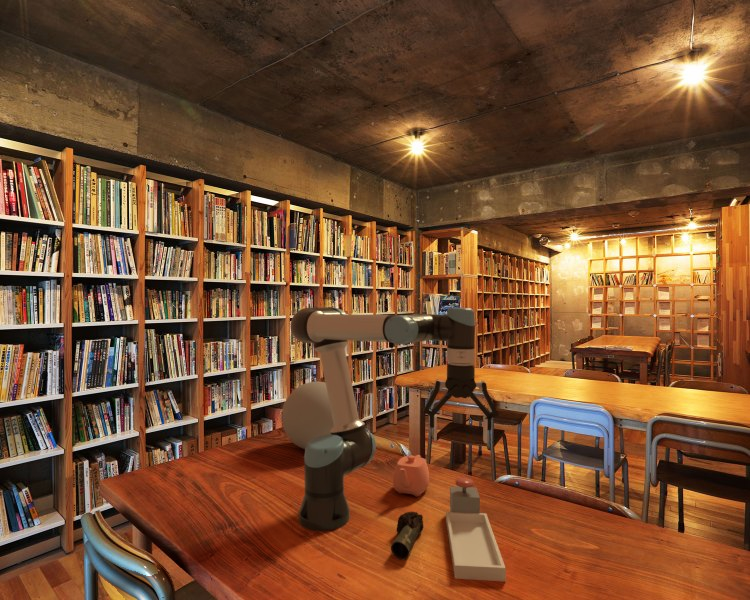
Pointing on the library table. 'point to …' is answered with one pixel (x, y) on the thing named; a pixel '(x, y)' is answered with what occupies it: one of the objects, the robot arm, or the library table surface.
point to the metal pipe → (406, 534)
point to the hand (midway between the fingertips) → (460, 440)
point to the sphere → (307, 413)
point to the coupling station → (472, 536)
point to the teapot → (411, 475)
